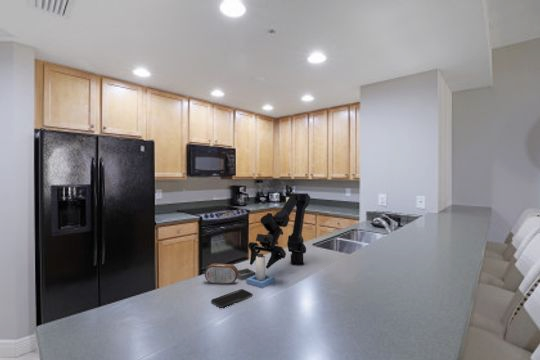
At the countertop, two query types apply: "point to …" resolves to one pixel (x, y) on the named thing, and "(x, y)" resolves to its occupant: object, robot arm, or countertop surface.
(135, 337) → the countertop surface
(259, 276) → the cream canister charcoal lid
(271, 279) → the blue bezel socket
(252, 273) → the gray socket
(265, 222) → the robot arm
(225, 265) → the tin
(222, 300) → the phone
